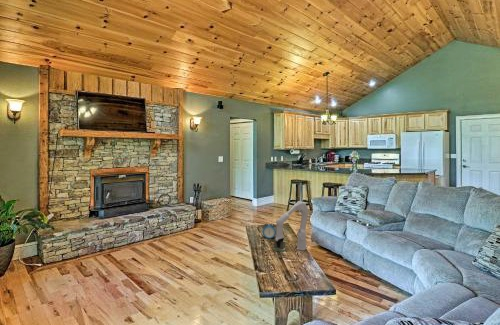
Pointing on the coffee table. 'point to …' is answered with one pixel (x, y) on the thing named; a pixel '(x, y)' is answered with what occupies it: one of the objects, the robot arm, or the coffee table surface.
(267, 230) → the alarm clock
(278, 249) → the green and cream box
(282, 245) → the block
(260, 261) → the coffee table surface
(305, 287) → the coffee table surface
